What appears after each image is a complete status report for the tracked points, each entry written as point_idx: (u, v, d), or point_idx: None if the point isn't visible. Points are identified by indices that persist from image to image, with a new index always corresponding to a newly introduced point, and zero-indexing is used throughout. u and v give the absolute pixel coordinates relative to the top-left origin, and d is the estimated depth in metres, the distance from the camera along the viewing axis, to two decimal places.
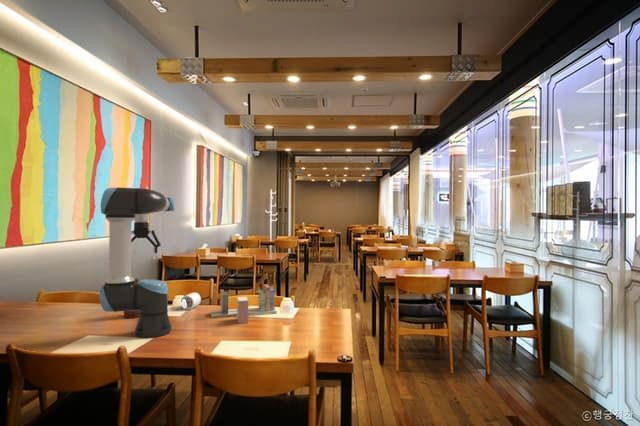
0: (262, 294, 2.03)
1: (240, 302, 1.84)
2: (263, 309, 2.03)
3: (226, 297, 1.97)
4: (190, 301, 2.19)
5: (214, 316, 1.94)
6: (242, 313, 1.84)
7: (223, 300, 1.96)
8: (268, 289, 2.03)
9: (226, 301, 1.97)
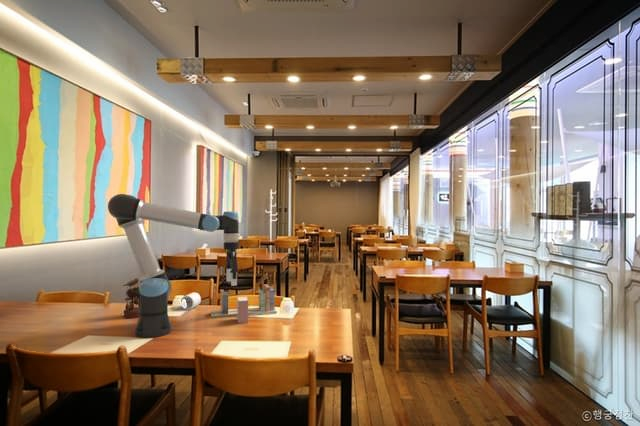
0: (262, 294, 2.03)
1: (240, 302, 1.84)
2: (263, 309, 2.03)
3: (226, 297, 1.97)
4: (190, 301, 2.19)
5: (214, 316, 1.94)
6: (242, 313, 1.84)
7: (223, 300, 1.96)
8: (268, 289, 2.03)
9: (226, 301, 1.97)
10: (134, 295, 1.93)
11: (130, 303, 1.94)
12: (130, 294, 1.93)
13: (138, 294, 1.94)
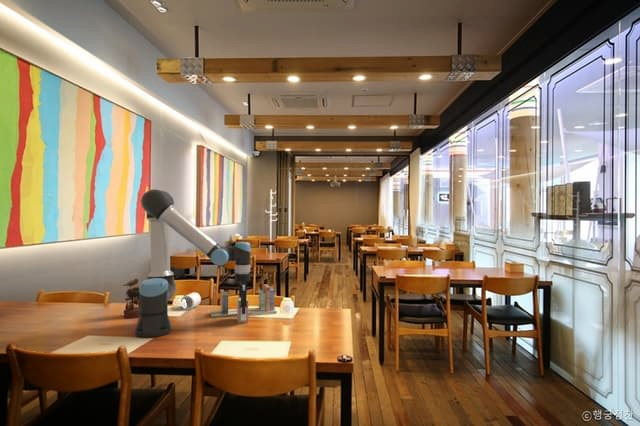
0: (262, 294, 2.03)
1: (240, 302, 1.84)
2: (263, 309, 2.03)
3: (226, 297, 1.97)
4: (190, 301, 2.19)
5: (214, 316, 1.94)
6: None
7: (223, 300, 1.96)
8: (268, 289, 2.03)
9: (226, 301, 1.97)
10: (134, 295, 1.93)
11: (130, 303, 1.94)
12: (130, 294, 1.93)
13: (138, 294, 1.94)
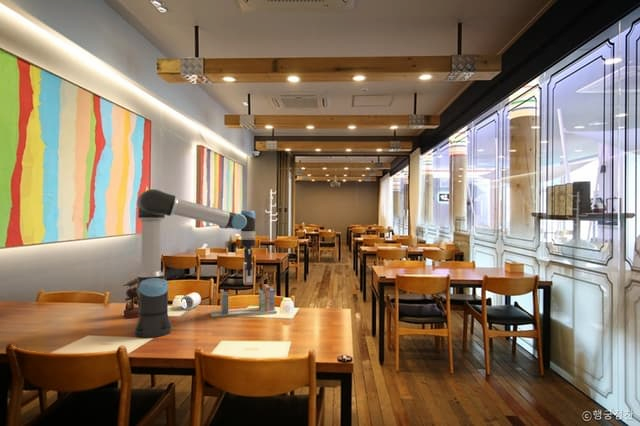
0: (262, 294, 2.03)
1: (246, 265, 1.99)
2: (263, 309, 2.03)
3: (226, 297, 1.97)
4: (190, 301, 2.19)
5: (214, 316, 1.94)
6: None
7: (223, 300, 1.96)
8: (268, 289, 2.03)
9: (226, 301, 1.97)
10: (134, 295, 1.93)
11: (130, 303, 1.94)
12: (130, 294, 1.93)
13: None
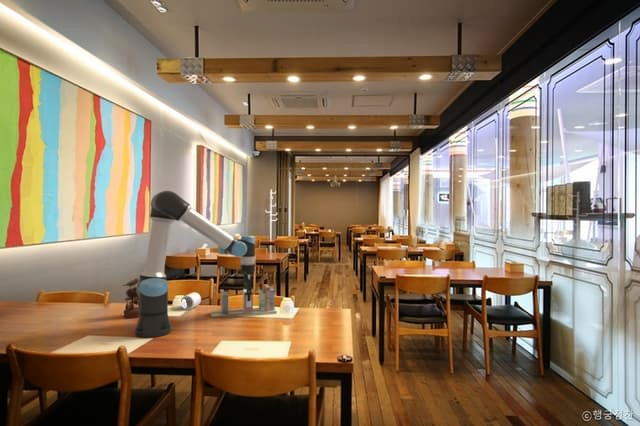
0: (262, 294, 2.03)
1: None
2: (263, 309, 2.03)
3: (226, 297, 1.97)
4: (190, 301, 2.19)
5: (214, 316, 1.94)
6: None
7: (223, 300, 1.96)
8: (268, 289, 2.03)
9: (226, 301, 1.97)
10: (134, 295, 1.93)
11: (130, 303, 1.94)
12: (130, 294, 1.93)
13: None
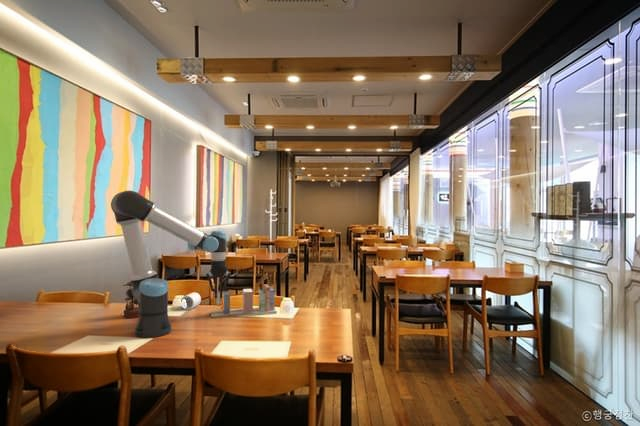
0: (262, 294, 2.03)
1: (245, 293, 1.99)
2: (263, 309, 2.03)
3: (228, 297, 1.97)
4: (190, 301, 2.19)
5: (214, 316, 1.94)
6: (247, 303, 2.00)
7: (225, 300, 1.97)
8: (268, 289, 2.03)
9: (228, 301, 1.97)
10: None
11: (130, 303, 1.94)
12: (130, 294, 1.93)
13: None
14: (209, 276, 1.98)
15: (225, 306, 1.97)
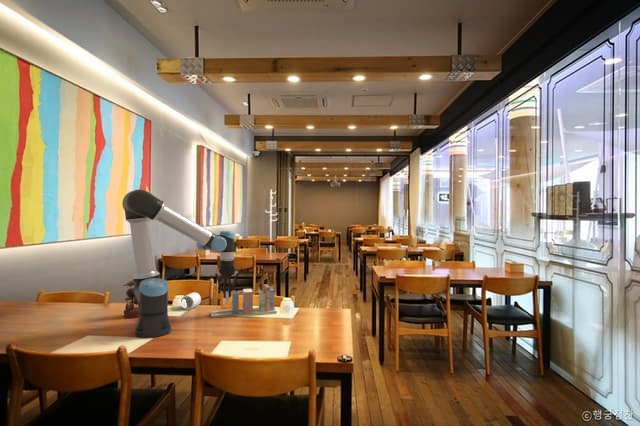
0: (262, 294, 2.03)
1: (245, 293, 1.99)
2: (263, 309, 2.03)
3: (236, 296, 1.98)
4: (190, 301, 2.19)
5: (214, 316, 1.94)
6: (247, 303, 2.00)
7: (233, 299, 1.98)
8: (268, 289, 2.03)
9: (236, 300, 1.98)
10: (134, 295, 1.93)
11: (130, 303, 1.94)
12: (130, 294, 1.93)
13: None
14: (218, 276, 1.99)
15: (234, 305, 1.98)
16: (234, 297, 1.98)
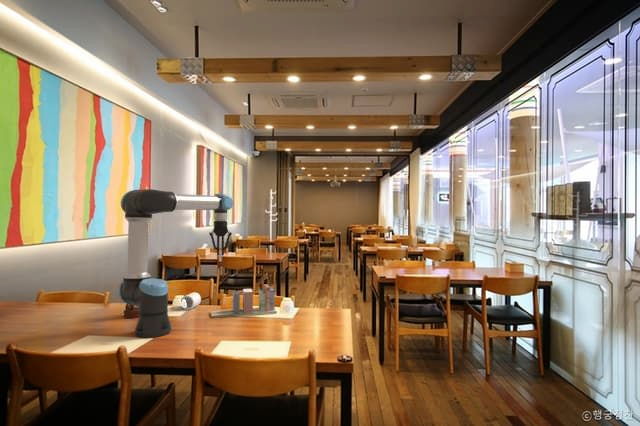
0: (262, 294, 2.03)
1: (245, 293, 1.99)
2: (263, 309, 2.03)
3: (237, 296, 1.98)
4: (190, 301, 2.19)
5: (214, 316, 1.94)
6: (247, 303, 2.00)
7: (234, 299, 1.98)
8: (268, 289, 2.03)
9: (237, 300, 1.98)
10: None
11: None
12: None
13: None
14: (212, 235, 2.15)
15: (235, 305, 1.98)
16: (235, 297, 1.98)
